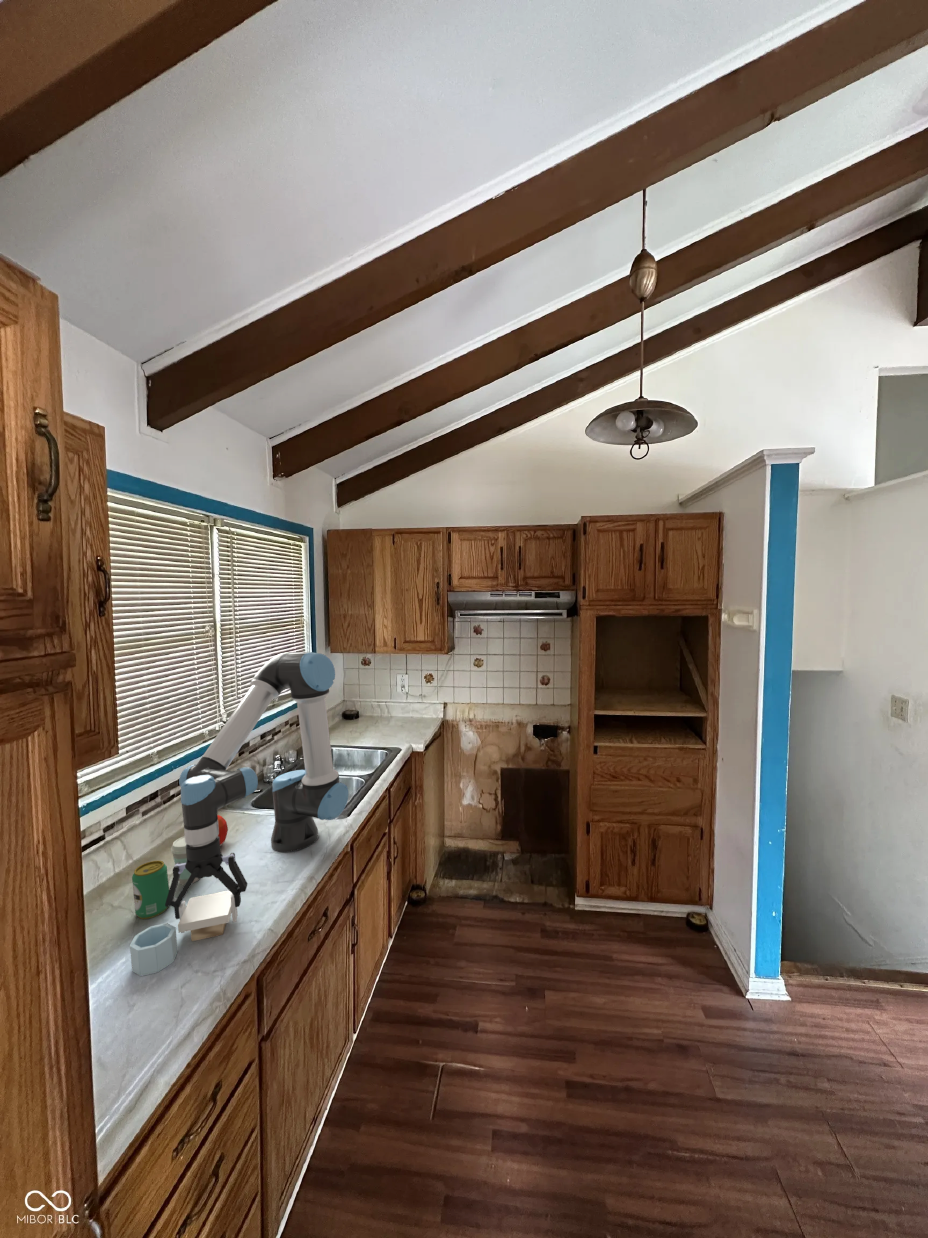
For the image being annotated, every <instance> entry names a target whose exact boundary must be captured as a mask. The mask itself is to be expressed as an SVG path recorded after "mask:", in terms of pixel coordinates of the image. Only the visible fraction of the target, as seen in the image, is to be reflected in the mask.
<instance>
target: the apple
mask: <svg viewBox="0 0 928 1238" xmlns="http://www.w3.org/2000/svg"><path fill="white" fill-rule="evenodd" d="M218 827H219V835H218V836H219V838H220V846H221V845H222V844H223V843H224V842H226V839H227V837H228V836H227V835H228V831H229V829H228V823H227V820H226V818H224V817H223V816H222V815H219V814H218Z"/></svg>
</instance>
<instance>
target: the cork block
mask: <svg viewBox="0 0 928 1238" xmlns="http://www.w3.org/2000/svg"><path fill="white" fill-rule="evenodd" d="M226 926H227V923H224V924H219V925H214V926H209V927H205V928H200V929H195V930H190V937H191V942H195V941H200V940H204V939H209V938H214V937H218V936H223V935H224V932H225V929H226Z"/></svg>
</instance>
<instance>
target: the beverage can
mask: <svg viewBox="0 0 928 1238" xmlns="http://www.w3.org/2000/svg"><path fill="white" fill-rule="evenodd" d="M168 875H169V874H168V867H167V865H166V864H165V863H164V861H163V860H160V859H159V860H152V861H149V862H146V863H143V864H140V865H139V866H137V867H136V868H135V869H134V871H133V874H132V876H131V881H132V890H133V891H132V892H133V901H134V902H133V903H134V912H135V915H136V916H137V917H138V918H139V919H141V920H147V919H152V918H156V917H158V916H160V915H162V914H163V913H165V911H166V910H168V908H169V907H166V906H165V903H166V899H167V896H168V893H169V889H170V885H169V876H168Z"/></svg>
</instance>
